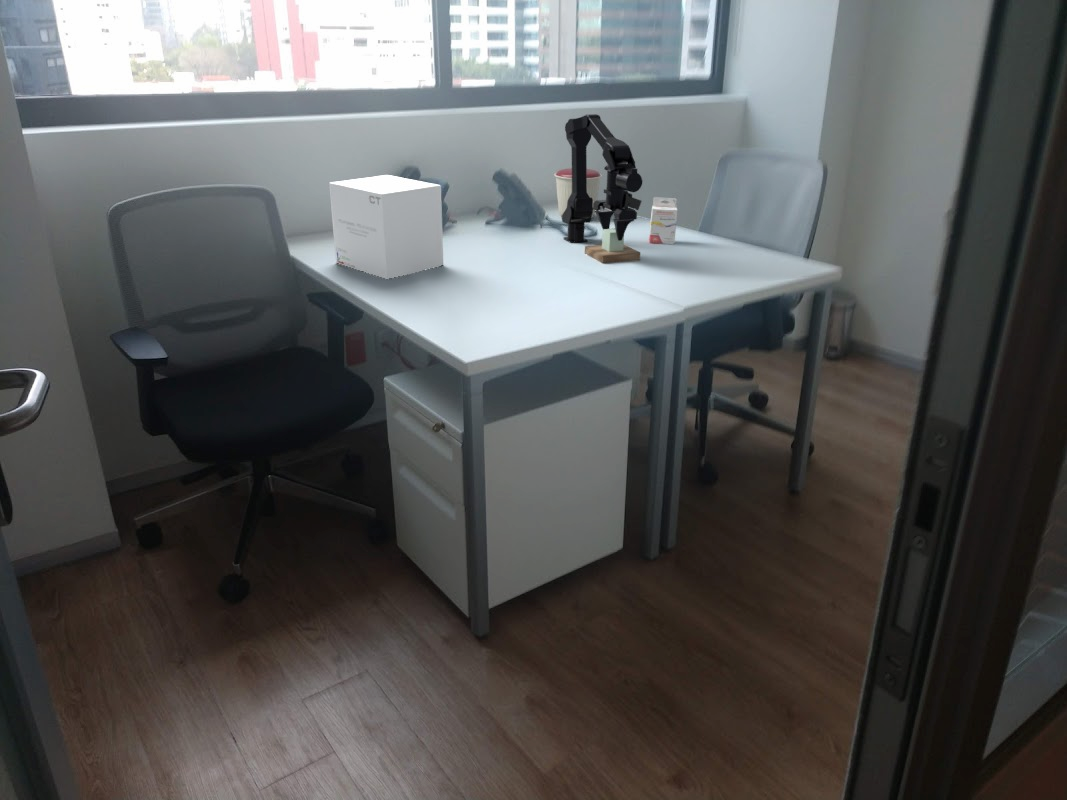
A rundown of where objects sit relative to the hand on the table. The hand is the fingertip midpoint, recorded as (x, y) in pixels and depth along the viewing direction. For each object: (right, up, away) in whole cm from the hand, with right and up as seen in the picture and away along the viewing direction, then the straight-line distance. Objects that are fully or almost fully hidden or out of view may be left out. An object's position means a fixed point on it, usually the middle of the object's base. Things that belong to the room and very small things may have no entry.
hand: (613, 237), depth 255 cm
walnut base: (0, -6, +3) cm, 7 cm away
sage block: (0, -3, +1) cm, 4 cm away
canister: (-9, +18, +56) cm, 59 cm away
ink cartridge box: (+19, +2, +22) cm, 29 cm away
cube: (-69, -11, -10) cm, 70 cm away
